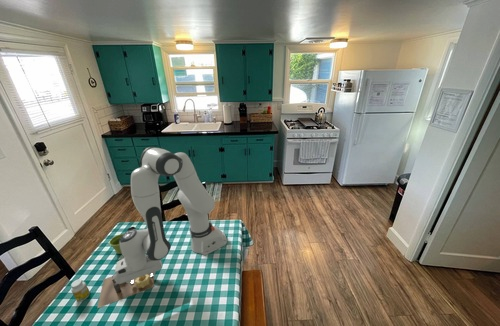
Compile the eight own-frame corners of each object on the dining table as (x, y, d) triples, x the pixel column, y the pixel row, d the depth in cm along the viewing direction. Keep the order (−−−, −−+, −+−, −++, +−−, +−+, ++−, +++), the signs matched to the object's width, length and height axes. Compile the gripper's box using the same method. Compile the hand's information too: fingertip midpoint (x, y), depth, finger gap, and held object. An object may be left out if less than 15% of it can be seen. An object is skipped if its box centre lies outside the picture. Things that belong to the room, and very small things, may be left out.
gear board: (154, 264, 115) (152, 255, 112) (155, 288, 101) (152, 279, 99) (104, 281, 106) (100, 272, 103) (98, 310, 92) (93, 301, 90)
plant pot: (111, 249, 125) (107, 239, 122) (128, 242, 131) (125, 231, 127) (115, 259, 119) (110, 248, 115) (132, 250, 124) (129, 239, 121)
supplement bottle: (92, 292, 100) (86, 278, 97) (82, 303, 95) (75, 289, 92) (84, 290, 101) (77, 276, 98) (73, 300, 97) (66, 286, 93)
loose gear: (150, 274, 107) (149, 270, 106) (150, 285, 101) (149, 281, 100) (136, 279, 105) (135, 275, 103) (136, 290, 99) (134, 286, 98)
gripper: (159, 248, 104) (164, 268, 109) (113, 263, 96) (120, 283, 101) (160, 257, 98) (165, 277, 104) (111, 274, 91) (119, 294, 96)
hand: (143, 280), depth 102 cm, fingers open, 8 cm apart
